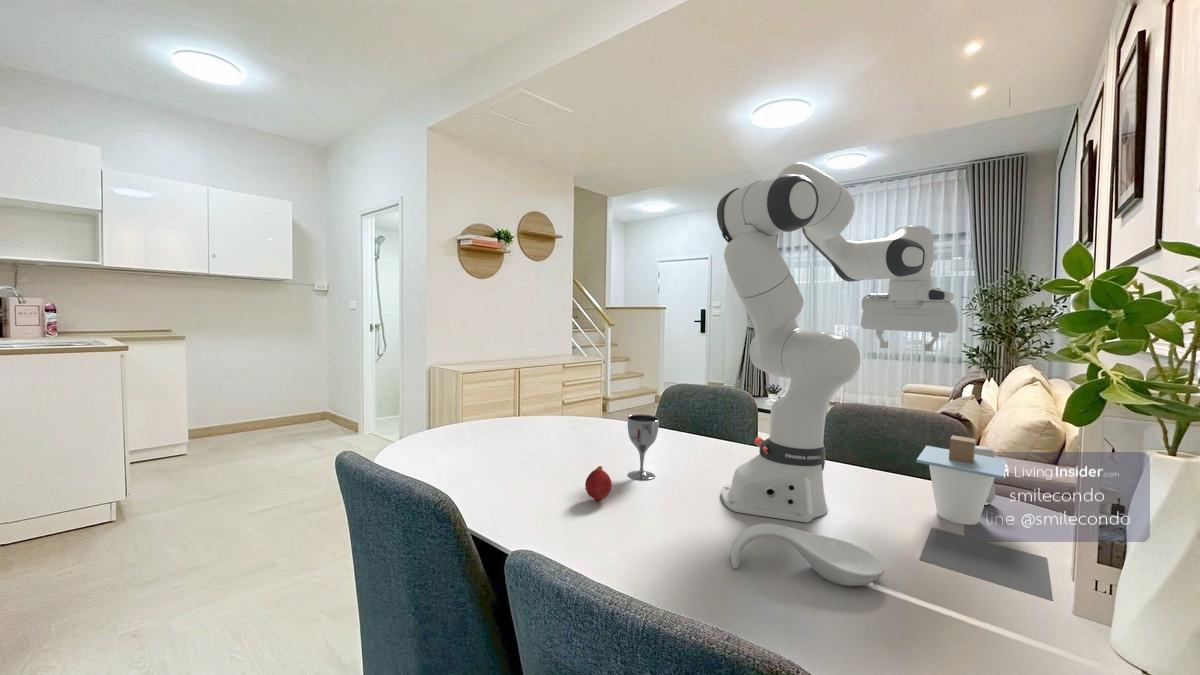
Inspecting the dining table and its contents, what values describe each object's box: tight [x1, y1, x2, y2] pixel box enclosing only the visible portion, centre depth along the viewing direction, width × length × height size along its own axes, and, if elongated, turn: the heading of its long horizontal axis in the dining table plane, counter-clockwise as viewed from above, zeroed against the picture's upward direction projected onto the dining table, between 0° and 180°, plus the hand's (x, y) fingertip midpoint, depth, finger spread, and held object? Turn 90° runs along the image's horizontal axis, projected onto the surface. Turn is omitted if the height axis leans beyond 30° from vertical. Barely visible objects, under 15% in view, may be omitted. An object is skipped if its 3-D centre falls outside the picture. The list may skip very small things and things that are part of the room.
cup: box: [928, 465, 995, 526], centre depth 101 cm, size 12×12×12 cm
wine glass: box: [627, 413, 660, 482], centre depth 123 cm, size 8×8×15 cm
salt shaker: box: [975, 445, 996, 504], centre depth 111 cm, size 6×6×13 cm
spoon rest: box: [729, 523, 885, 587], centre depth 80 cm, size 24×12×7 cm, turn 81°
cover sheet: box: [916, 434, 1007, 480], centre depth 101 cm, size 14×14×5 cm
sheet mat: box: [918, 527, 1054, 602], centre depth 85 cm, size 17×17×1 cm
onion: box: [584, 465, 613, 503], centre depth 106 cm, size 6×6×8 cm
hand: (905, 349), depth 119 cm, fingers open, 8 cm apart
